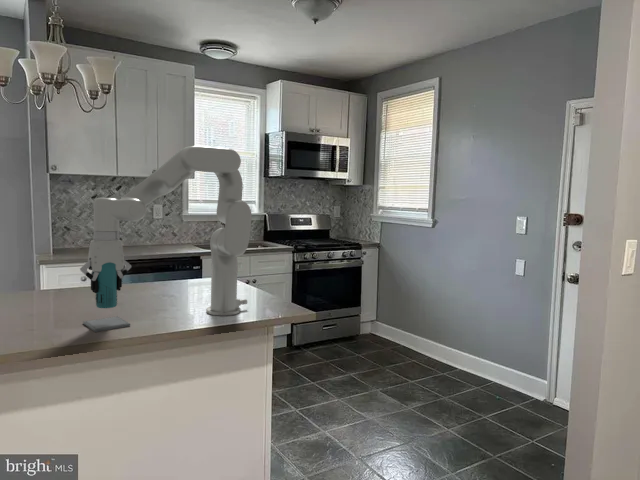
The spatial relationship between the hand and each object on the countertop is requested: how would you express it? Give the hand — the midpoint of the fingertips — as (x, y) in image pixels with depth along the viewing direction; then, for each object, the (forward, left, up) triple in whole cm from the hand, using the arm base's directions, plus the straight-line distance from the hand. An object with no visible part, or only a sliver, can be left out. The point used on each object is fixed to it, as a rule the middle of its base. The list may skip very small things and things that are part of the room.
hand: (106, 290), depth 152 cm
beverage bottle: (0, 0, -7) cm, 7 cm away
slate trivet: (0, 0, -11) cm, 11 cm away
